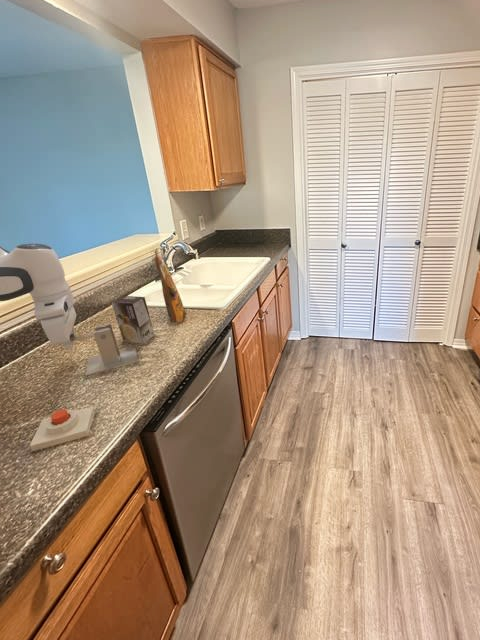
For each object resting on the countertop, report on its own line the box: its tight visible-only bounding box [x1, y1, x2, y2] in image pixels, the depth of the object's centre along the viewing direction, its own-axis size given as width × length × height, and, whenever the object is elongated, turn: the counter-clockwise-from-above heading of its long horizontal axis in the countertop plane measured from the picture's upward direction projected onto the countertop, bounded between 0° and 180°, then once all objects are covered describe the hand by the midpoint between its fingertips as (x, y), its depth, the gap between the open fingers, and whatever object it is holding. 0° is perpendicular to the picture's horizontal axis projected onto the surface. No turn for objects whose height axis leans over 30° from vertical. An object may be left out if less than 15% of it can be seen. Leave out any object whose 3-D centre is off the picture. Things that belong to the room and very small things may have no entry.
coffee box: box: [111, 295, 155, 344], centre depth 114 cm, size 9×6×16 cm
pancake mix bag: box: [154, 248, 185, 324], centre depth 129 cm, size 7×19×28 cm, turn 16°
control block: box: [29, 406, 96, 452], centre depth 77 cm, size 11×9×4 cm
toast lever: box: [70, 327, 108, 343], centre depth 98 cm, size 11×5×2 cm, turn 117°
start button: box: [50, 409, 69, 425], centre depth 76 cm, size 3×3×2 cm
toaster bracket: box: [85, 322, 138, 377], centre depth 101 cm, size 14×11×13 cm
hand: (71, 343), depth 96 cm, fingers closed on toast lever, 5 cm apart
